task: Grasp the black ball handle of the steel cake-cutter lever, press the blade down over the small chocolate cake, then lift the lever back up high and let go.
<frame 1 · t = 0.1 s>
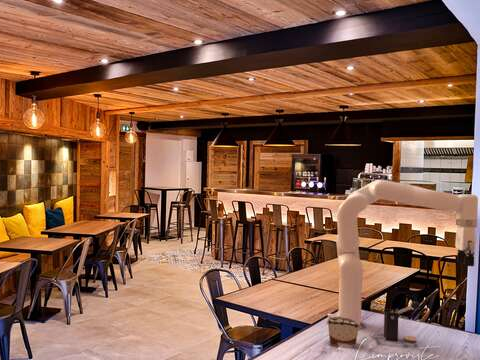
hand: (465, 263, 196), 31 cm above the table, tool pointing down, fingers open, 9 cm apart
food container: (342, 344, 186), on the table
cake: (409, 344, 187), on the table
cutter: (390, 342, 189), on the table
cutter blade: (403, 310, 187), point 14 cm above the table, hinge at 30.0°
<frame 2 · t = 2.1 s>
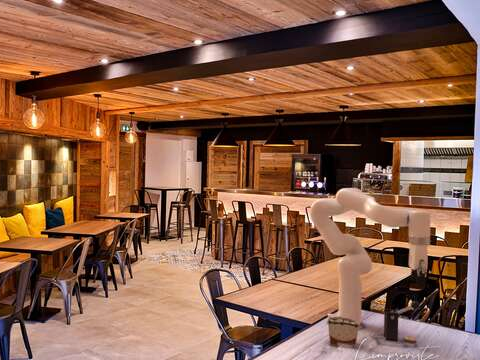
hand: (418, 283, 186), 25 cm above the table, tool pointing down, fingers open, 9 cm apart
nothing on the table moved.
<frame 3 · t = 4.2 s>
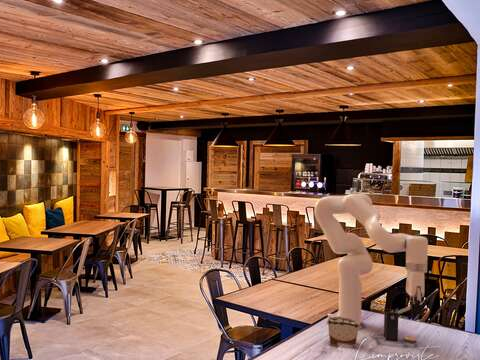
hand: (415, 312, 186), 13 cm above the table, tool pointing down, fingers closed on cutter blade, 3 cm apart
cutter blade: (403, 310, 187), point 14 cm above the table, hinge at 30.0°, touching gripper
everything else where it was.
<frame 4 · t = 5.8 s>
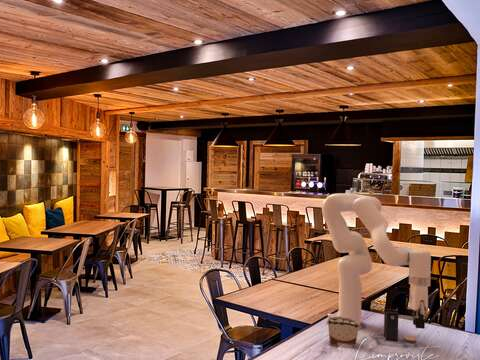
hand: (418, 326, 186), 8 cm above the table, tool pointing down, fingers closed on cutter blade, 3 cm apart
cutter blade: (405, 317, 187), point 11 cm above the table, hinge at -1.1°, touching gripper
everything else where it was.
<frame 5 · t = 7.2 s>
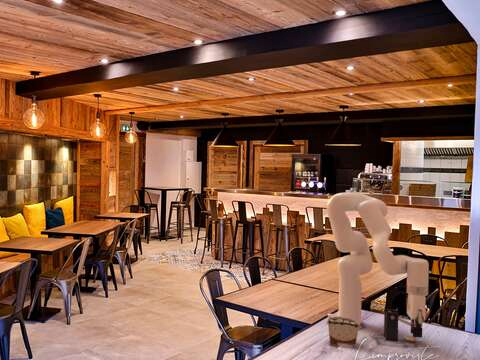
hand: (416, 335, 186), 4 cm above the table, tool pointing down, fingers closed on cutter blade, 3 cm apart
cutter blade: (404, 321, 187), point 9 cm above the table, hinge at -21.8°, touching gripper
everything else where it was.
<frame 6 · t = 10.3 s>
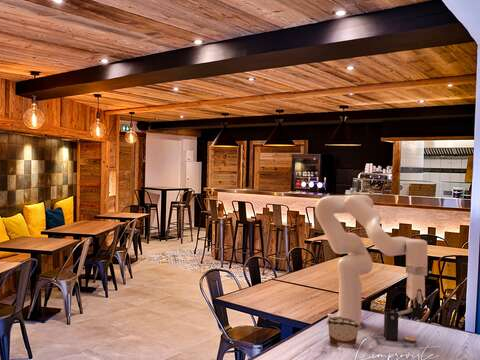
hand: (415, 315, 186), 12 cm above the table, tool pointing down, fingers closed on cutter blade, 3 cm apart
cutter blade: (404, 312, 187), point 13 cm above the table, hinge at 21.6°, touching gripper
everything else where it was.
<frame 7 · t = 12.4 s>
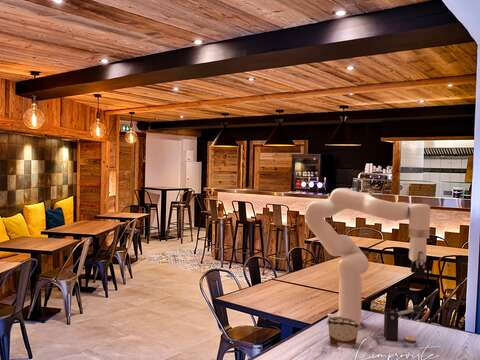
hand: (417, 275, 191), 27 cm above the table, tool pointing down, fingers open, 9 cm apart
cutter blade: (404, 312, 187), point 13 cm above the table, hinge at 21.2°
everything else where it was.
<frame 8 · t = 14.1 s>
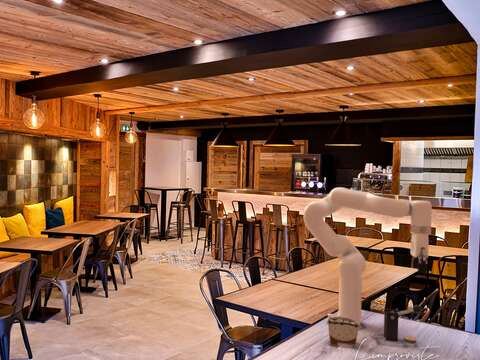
hand: (419, 270, 194), 28 cm above the table, tool pointing down, fingers open, 9 cm apart
nothing on the table moved.
at the end: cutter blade reached -22° during the clip, +21° at the end; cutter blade at +21° (first picture: +30°) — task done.
